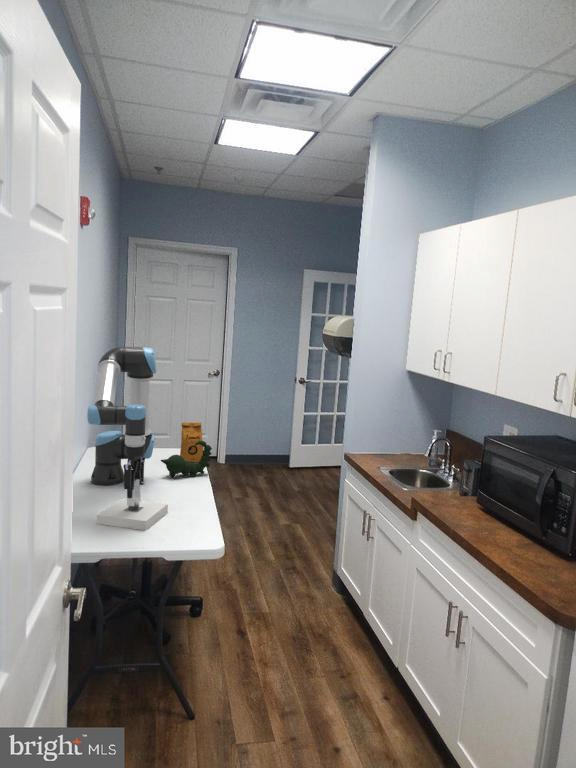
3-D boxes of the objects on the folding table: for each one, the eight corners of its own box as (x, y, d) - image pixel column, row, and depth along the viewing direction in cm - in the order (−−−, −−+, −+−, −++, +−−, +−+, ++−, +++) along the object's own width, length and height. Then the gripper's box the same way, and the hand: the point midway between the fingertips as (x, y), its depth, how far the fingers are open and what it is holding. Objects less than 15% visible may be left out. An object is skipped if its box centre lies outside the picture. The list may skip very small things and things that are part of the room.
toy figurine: (204, 475, 282) (156, 474, 271) (209, 439, 281) (161, 437, 269) (210, 480, 274) (160, 479, 262) (214, 443, 272) (165, 441, 261)
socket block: (122, 506, 225) (122, 498, 224) (167, 512, 221) (167, 503, 221) (96, 523, 205) (96, 514, 205) (145, 530, 202) (146, 521, 201)
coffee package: (203, 463, 297) (204, 424, 295) (180, 463, 294) (181, 423, 292) (202, 459, 307) (203, 420, 304) (179, 459, 304) (180, 420, 301)
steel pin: (131, 507, 215) (131, 477, 214) (140, 508, 214) (141, 478, 213) (126, 510, 211) (127, 480, 210) (135, 511, 211) (136, 481, 209)
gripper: (133, 451, 201) (132, 512, 203) (153, 441, 218) (152, 497, 220) (114, 449, 202) (113, 509, 205) (136, 439, 219) (135, 495, 222)
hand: (133, 503), depth 213 cm, fingers open, 4 cm apart
